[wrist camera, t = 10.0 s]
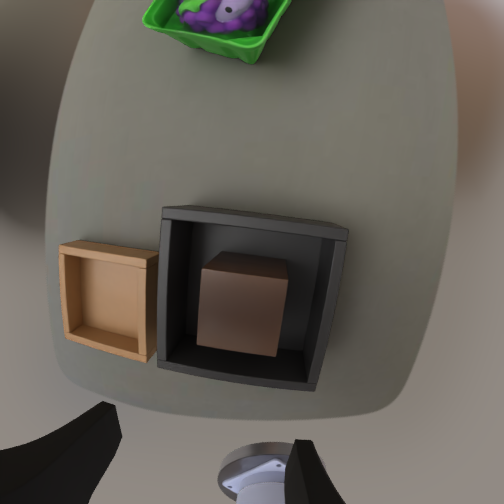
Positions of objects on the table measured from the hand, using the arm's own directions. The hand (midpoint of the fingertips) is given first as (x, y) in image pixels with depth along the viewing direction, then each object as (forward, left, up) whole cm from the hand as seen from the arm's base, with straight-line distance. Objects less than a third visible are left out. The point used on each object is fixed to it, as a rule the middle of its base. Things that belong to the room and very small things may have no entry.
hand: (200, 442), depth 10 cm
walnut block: (+2, -3, -10) cm, 11 cm away
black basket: (+2, -3, -10) cm, 11 cm away
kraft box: (+8, +5, -10) cm, 14 cm away
